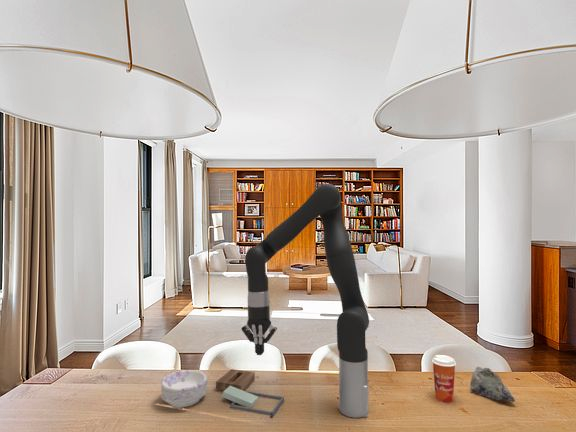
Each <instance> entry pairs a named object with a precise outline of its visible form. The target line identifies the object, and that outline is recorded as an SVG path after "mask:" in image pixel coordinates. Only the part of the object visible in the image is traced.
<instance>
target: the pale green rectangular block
mask: <svg viewBox="0 0 576 432" xmlns="http://www.w3.org/2000/svg"><path fill="white" fill-rule="evenodd" d="M245 391H246V390H245ZM245 391H243V390H240V389H237V388H235V387H232V386H229V387H228V388H227V389H226V390H224V391H223V392H222V395H221V397H222V398H223V399H227V400H229V401H231V402H232V403H233V402H236V404H238V405H240V406H242V407H247V408H253V406H254V405H255V404H256V403H257V402H258V399H259V396H255V395H253V394H250V393H248V392H245Z"/></svg>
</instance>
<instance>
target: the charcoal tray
mask: <svg viewBox="0 0 576 432" xmlns="http://www.w3.org/2000/svg"><path fill="white" fill-rule="evenodd" d="M245 392H248V393H250V394H253V395H255V396H258V398H259V397H260V398H265V399H274V400H279V401H278V402H277V403H276V405H275V406H274V408H273V409H272V410H271V411H269V410H263V409H259V408H258V409H257V408H253V407H251V408H250V407H245V406H242V405H240V406H239V405H237V403H236V402H233V401H232V403H230V405H229V409H234V410H239V411H244V412H248V413H249V412H250V413H255V414H261V415H266V416H270V417H269V418H271V419H274V417H275V416H276V414H277V412H278V411H279V410H280V408H281V407H282V406H283V404H284V402H285V397H284V396H280V395H275V394H274V395H273V394H266V393H261V392H253V391H250V390H249V391H248V390H245Z"/></svg>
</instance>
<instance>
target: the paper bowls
mask: <svg viewBox="0 0 576 432" xmlns="http://www.w3.org/2000/svg"><path fill="white" fill-rule="evenodd" d="M160 385H161V387H160V388H161V390H160V392H161V393H160V395H161V399H162V401H164V402H166V403H168V405H170V407H172V408H175V409H183V408H185V407H190V406H194V405H196V404H197V403H198V402H200V400H201V399H202V398H203V397H204V396H205V395H206V394H207V392H208V376H207V374H205V372H202V371H201V370H192V369H187V370H179V371H174V372H172V373H170V374H168V375H166V376H164V377H163V378H162V380H161V383H160Z"/></svg>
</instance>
